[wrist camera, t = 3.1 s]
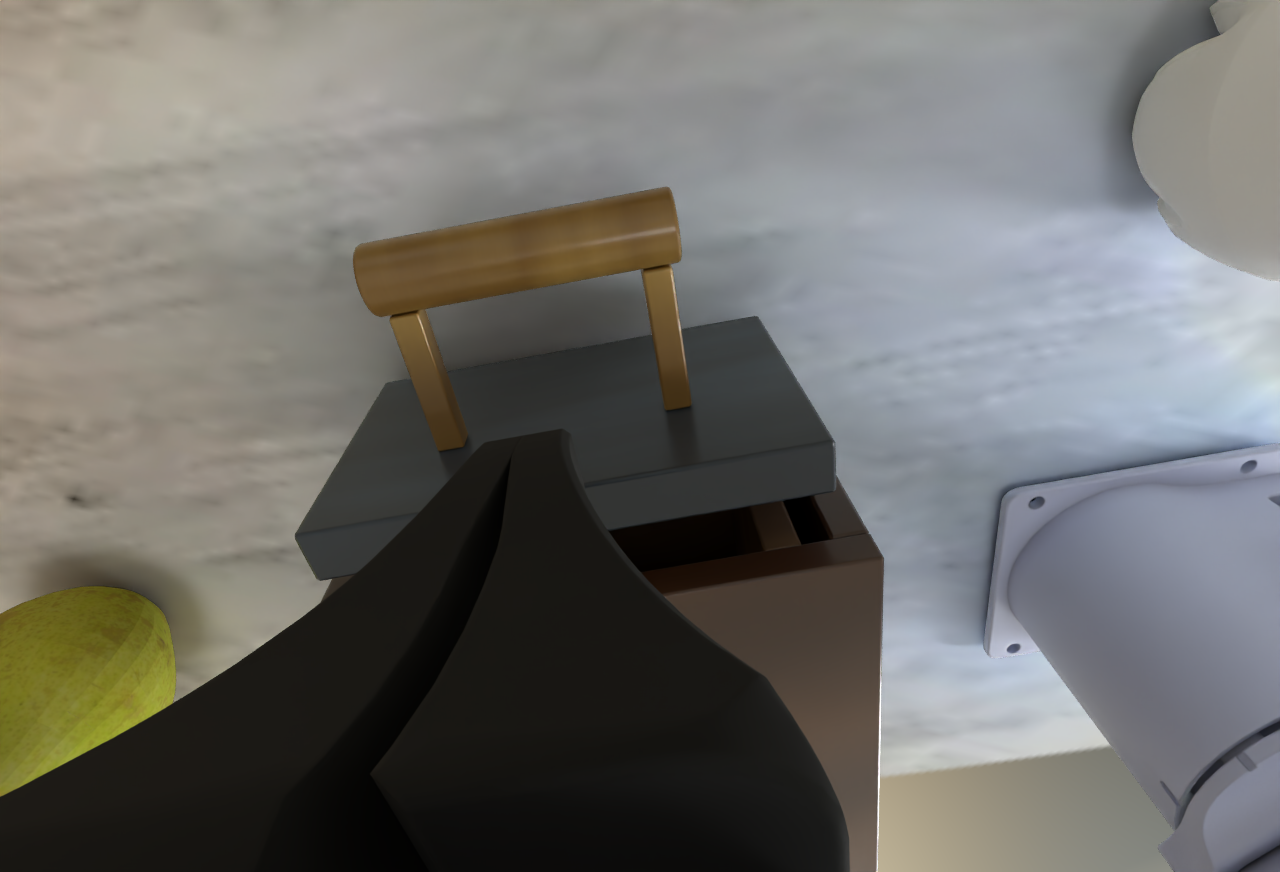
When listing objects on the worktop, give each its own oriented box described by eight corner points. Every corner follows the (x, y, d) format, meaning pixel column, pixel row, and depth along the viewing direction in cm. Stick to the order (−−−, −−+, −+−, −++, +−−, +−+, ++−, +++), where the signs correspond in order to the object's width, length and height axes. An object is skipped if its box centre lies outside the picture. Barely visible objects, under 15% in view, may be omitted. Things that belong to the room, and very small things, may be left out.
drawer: (319, 216, 17) (169, 312, 11) (743, 136, 16) (830, 190, 10) (504, 684, 25) (478, 880, 19) (784, 637, 25) (845, 822, 19)
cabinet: (398, 437, 21) (290, 658, 13) (777, 369, 20) (885, 557, 13) (514, 722, 27) (485, 974, 20) (799, 676, 27) (877, 914, 20)
